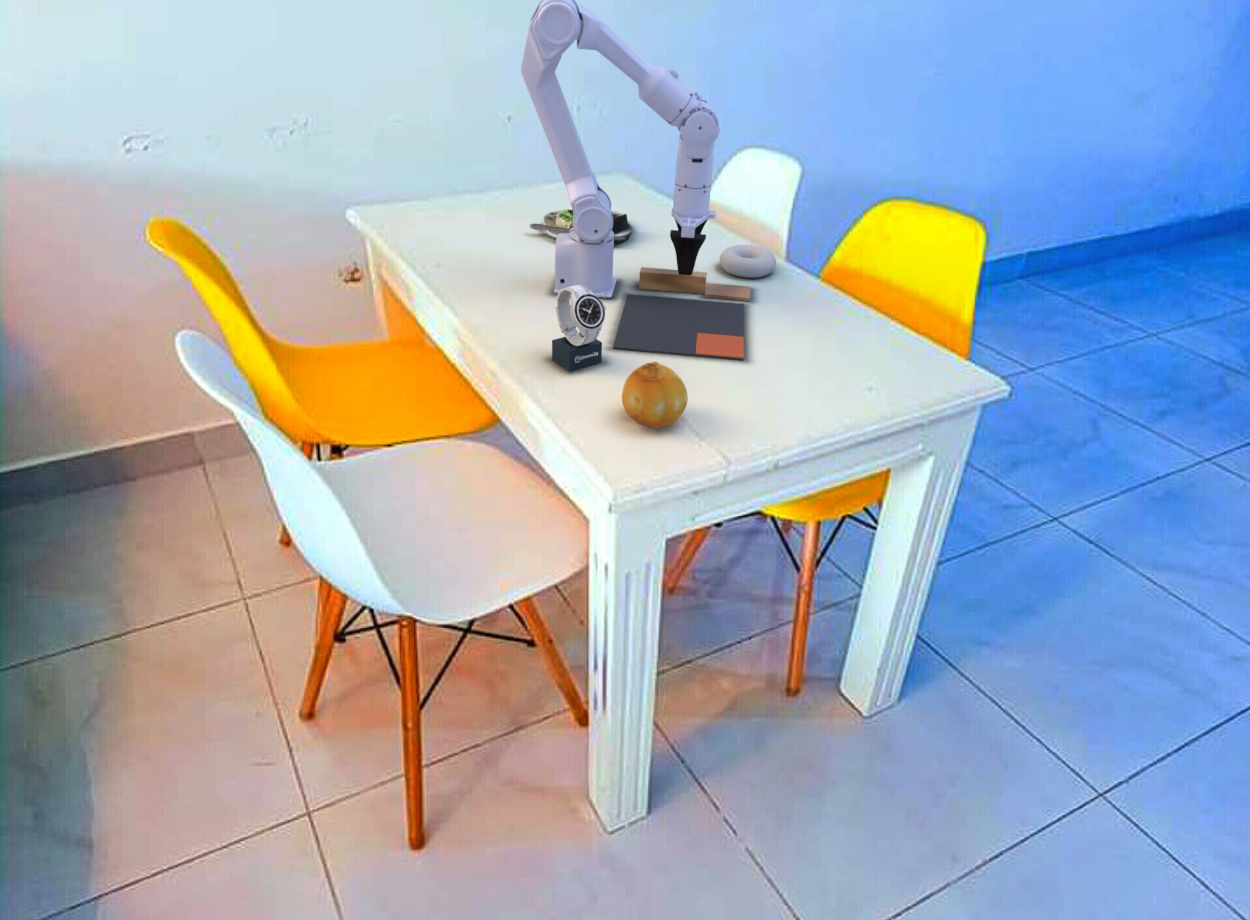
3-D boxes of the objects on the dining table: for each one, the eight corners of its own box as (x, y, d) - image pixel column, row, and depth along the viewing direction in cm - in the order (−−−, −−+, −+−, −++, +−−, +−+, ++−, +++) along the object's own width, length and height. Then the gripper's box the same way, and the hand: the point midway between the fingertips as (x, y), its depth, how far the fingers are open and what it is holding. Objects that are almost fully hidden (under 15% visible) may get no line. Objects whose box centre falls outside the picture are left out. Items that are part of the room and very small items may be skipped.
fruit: (601, 408, 114) (636, 363, 110) (624, 385, 121) (658, 342, 116) (651, 450, 114) (688, 407, 110) (671, 425, 121) (707, 384, 117)
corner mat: (613, 348, 134) (613, 345, 133) (627, 295, 150) (628, 292, 150) (743, 360, 132) (743, 357, 132) (743, 305, 149) (744, 302, 149)
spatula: (749, 289, 155) (751, 272, 153) (749, 301, 151) (751, 284, 149) (641, 280, 156) (642, 263, 154) (638, 291, 152) (639, 274, 150)
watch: (577, 377, 126) (578, 303, 120) (545, 355, 131) (545, 282, 125) (610, 367, 128) (612, 294, 122) (577, 346, 134) (578, 275, 128)
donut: (715, 277, 159) (773, 283, 157) (717, 258, 157) (775, 264, 155) (721, 258, 167) (776, 263, 166) (723, 239, 165) (779, 244, 164)
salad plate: (533, 250, 166) (532, 225, 163) (526, 218, 180) (525, 194, 178) (638, 248, 169) (639, 224, 166) (622, 217, 184) (623, 194, 181)
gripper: (717, 199, 137) (709, 284, 145) (719, 172, 149) (712, 252, 157) (670, 195, 138) (664, 280, 145) (676, 169, 150) (671, 249, 157)
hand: (686, 265), depth 151 cm, fingers open, 7 cm apart
